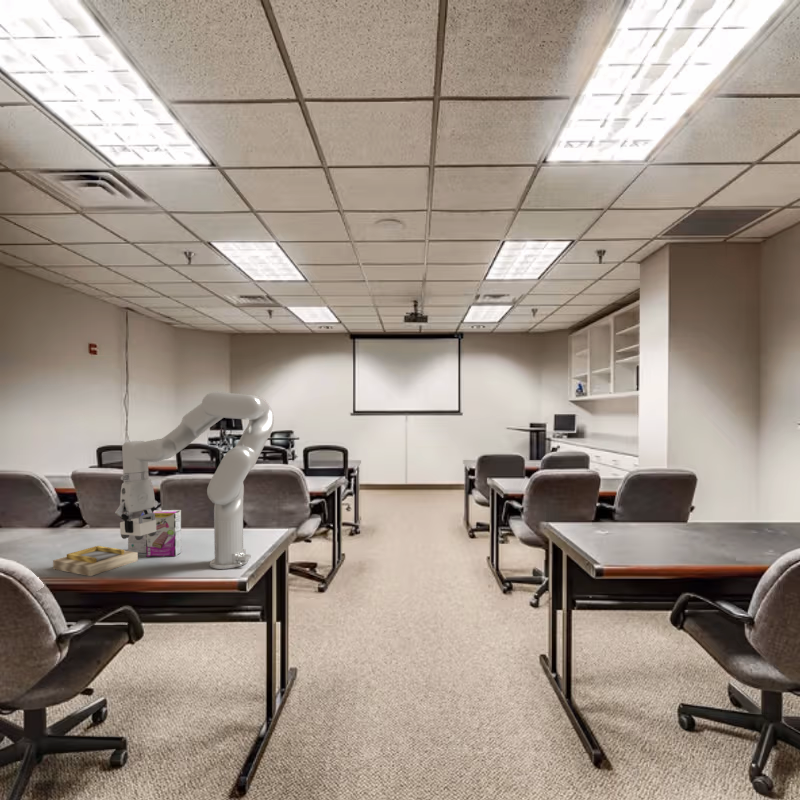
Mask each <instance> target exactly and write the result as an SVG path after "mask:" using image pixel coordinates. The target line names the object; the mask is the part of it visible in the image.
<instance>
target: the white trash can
mask: <svg viewBox="0 0 800 800" xmlns="http://www.w3.org/2000/svg"><path fill="white" fill-rule="evenodd" d="M150 516H151V519H142V518H146V517H150ZM131 521H133V533H126V532H125V521H121V522H119V529H120V530H119V533H120V537H121V538H122V539H123V540H126V539H128V537H129V535H135V538H136V539H137V540H141V539H143V537H144V535H146V534H148V535H149V536H154V535H155V534H156V520H155V513H150V514H146V515H142V516H141V515H139V517H137V518H132V519H131Z"/></svg>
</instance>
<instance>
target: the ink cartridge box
mask: <svg viewBox="0 0 800 800" xmlns="http://www.w3.org/2000/svg"><path fill="white" fill-rule="evenodd" d="M142 515H144V513H143V512H142V513H141V515H140V516H142ZM142 519H143V518H142ZM127 539H128V540H127V551H131V552H137V553H138V554H139V553H140V554H141V553H142V554H143V553H145V554H146V535H144V537H143V539H141V540H137V539H136V538H135V535H129V537H128V538H127Z"/></svg>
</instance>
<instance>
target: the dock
mask: <svg viewBox="0 0 800 800" xmlns="http://www.w3.org/2000/svg"><path fill="white" fill-rule="evenodd" d="M138 554H139V553H137V552H131V551H128V550H125V549H123V548H122V549H121V548H115V547H106V546H101V545H96V546H92V547H89V548H84V549H80V550H77V551H74V552H70V553H67V554H66V556H63V557H59V558H57V559H53V560H52V569H53V570H55V569H56V570H57V571H60V572H61V571H63V572H67V573H72V574H77V575H83V576H88V577H92V576H95V575H99V574H101V573H105V572H107V571H111V570H114V569H118V568H121V567H123V566H126V565H129V564H133V563H136V562H138V561H139V556H138Z"/></svg>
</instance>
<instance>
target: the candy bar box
mask: <svg viewBox="0 0 800 800" xmlns="http://www.w3.org/2000/svg"><path fill="white" fill-rule="evenodd" d="M153 513H155V520H156V534H155V535H154V536H149V535H148V534H146V553H145V556H146V557H147V558H149V557H150V558H152V557H154V558H155V557H161V556H165V557H177V556H178V555H180V554H181V553H182V510H181V509H171V510H170V509H168V510H167V509H165V510H164V509H162V510H161V509H160V510H159V509H158V510H156V509H155V510H154V511H153ZM176 555H177V556H176Z"/></svg>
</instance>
